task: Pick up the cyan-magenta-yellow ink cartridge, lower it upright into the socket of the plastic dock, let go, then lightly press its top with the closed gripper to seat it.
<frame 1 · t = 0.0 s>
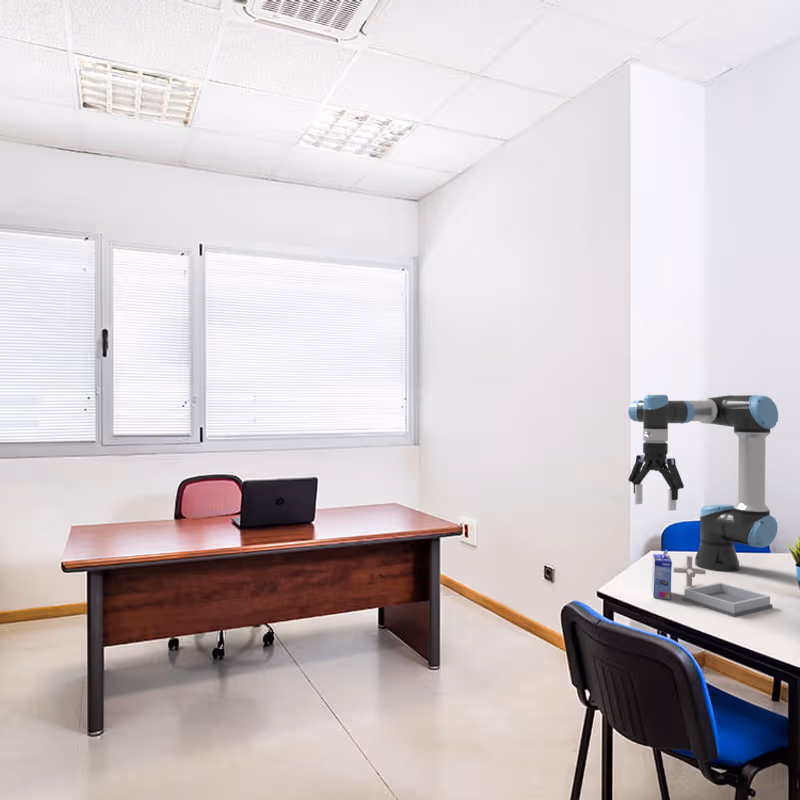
hand: (654, 507, 216), 28 cm above the table, fingers open, 13 cm apart
cartridge dock: (726, 604, 205), on the table
ink cartridge box: (661, 595, 214), on the table
pipe connector: (689, 586, 225), on the table
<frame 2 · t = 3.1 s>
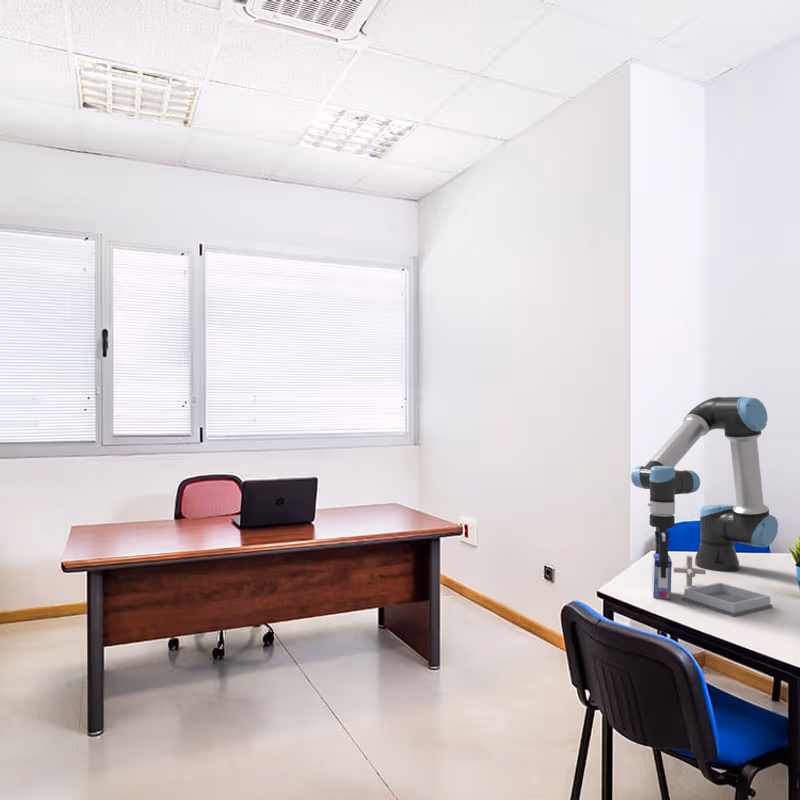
hand: (661, 583, 214), 4 cm above the table, fingers closed on ink cartridge box, 10 cm apart
ink cartridge box: (661, 595, 214), on the table, touching gripper
everything else where it was.
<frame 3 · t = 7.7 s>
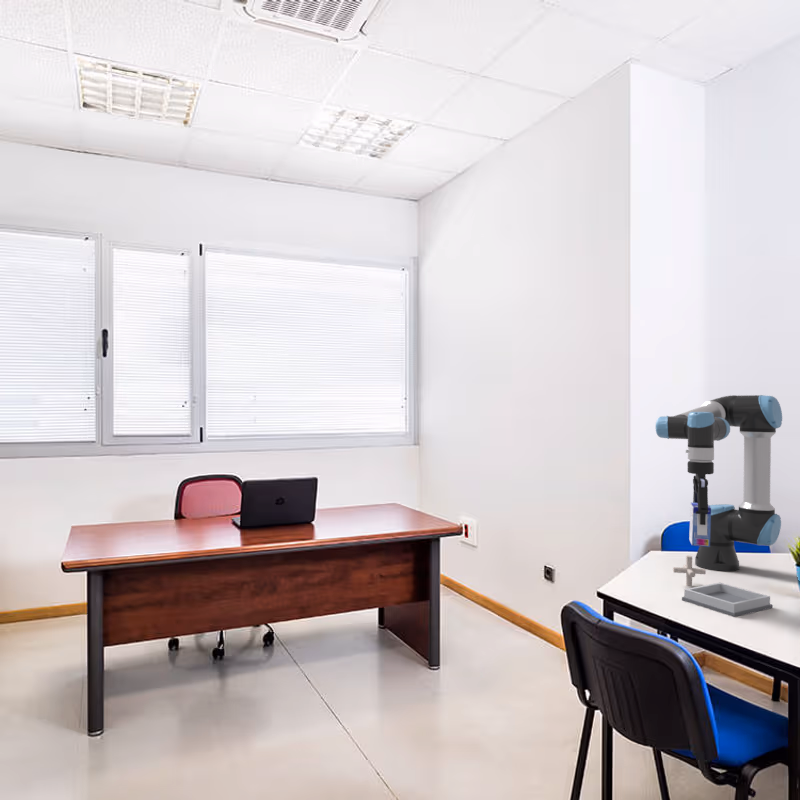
hand: (700, 531, 208), 22 cm above the table, fingers closed on ink cartridge box, 10 cm apart
ink cartridge box: (699, 544, 208), point 18 cm above the table, touching gripper
everything else where it was.
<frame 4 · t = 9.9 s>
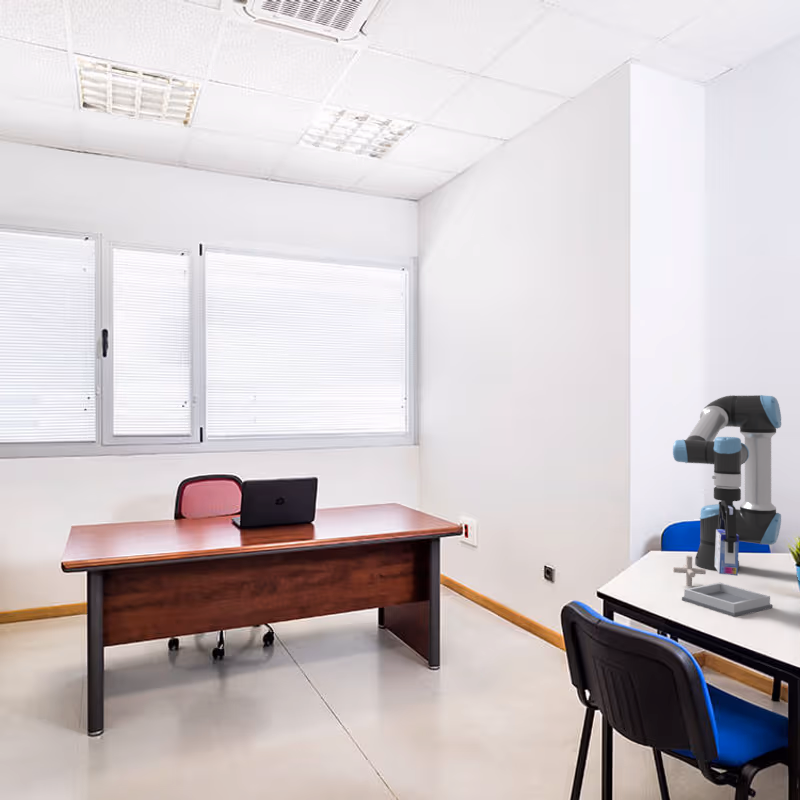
hand: (726, 559, 205), 14 cm above the table, fingers closed on ink cartridge box, 10 cm apart
ink cartridge box: (726, 572, 205), point 10 cm above the table, touching gripper
everything else where it was.
when the fingers open (7 cm above the table, at t = 12.1 s): ink cartridge box drops 2 cm, resting on cartridge dock.
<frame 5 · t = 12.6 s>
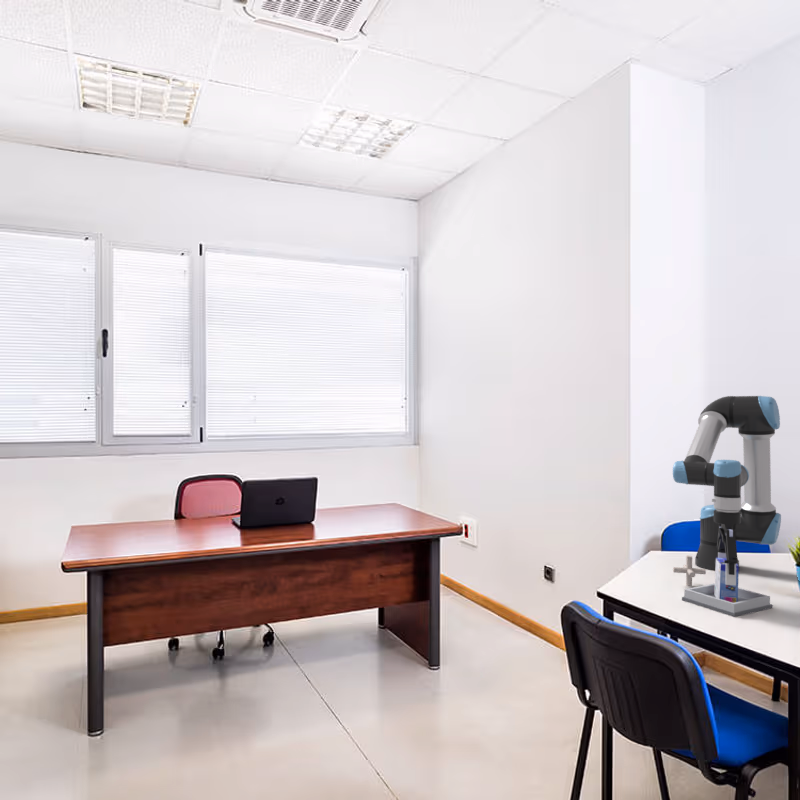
hand: (726, 579, 205), 8 cm above the table, fingers open, 13 cm apart
ink cartridge box: (726, 601, 205), point 1 cm above the table, touching cartridge dock
everything else where it was.
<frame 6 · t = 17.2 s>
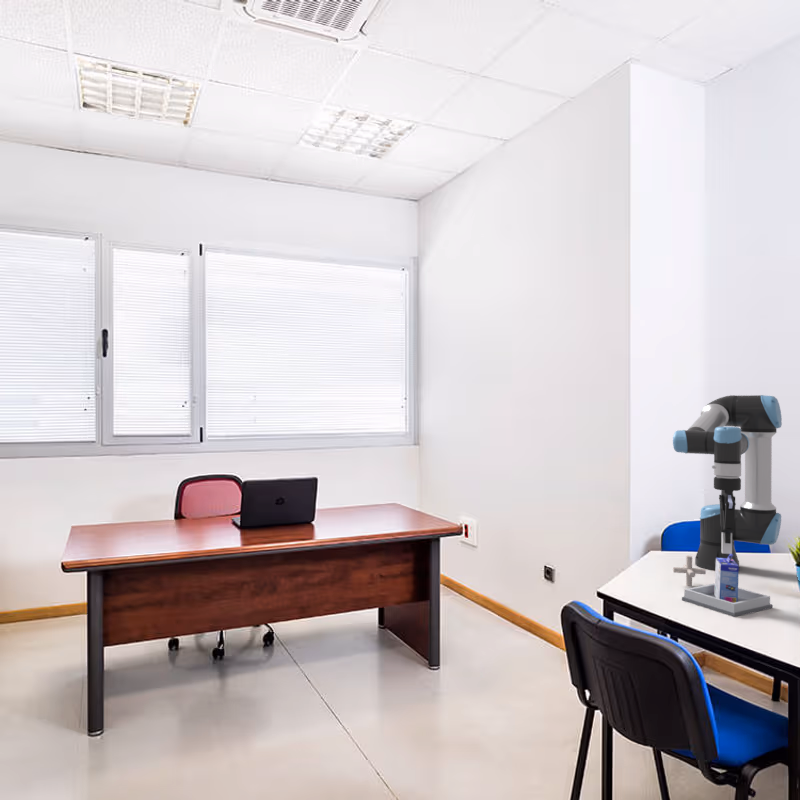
hand: (726, 553, 205), 16 cm above the table, fingers closed
ink cartridge box: (726, 601, 205), point 1 cm above the table, touching cartridge dock, gripper
everything else where it was.
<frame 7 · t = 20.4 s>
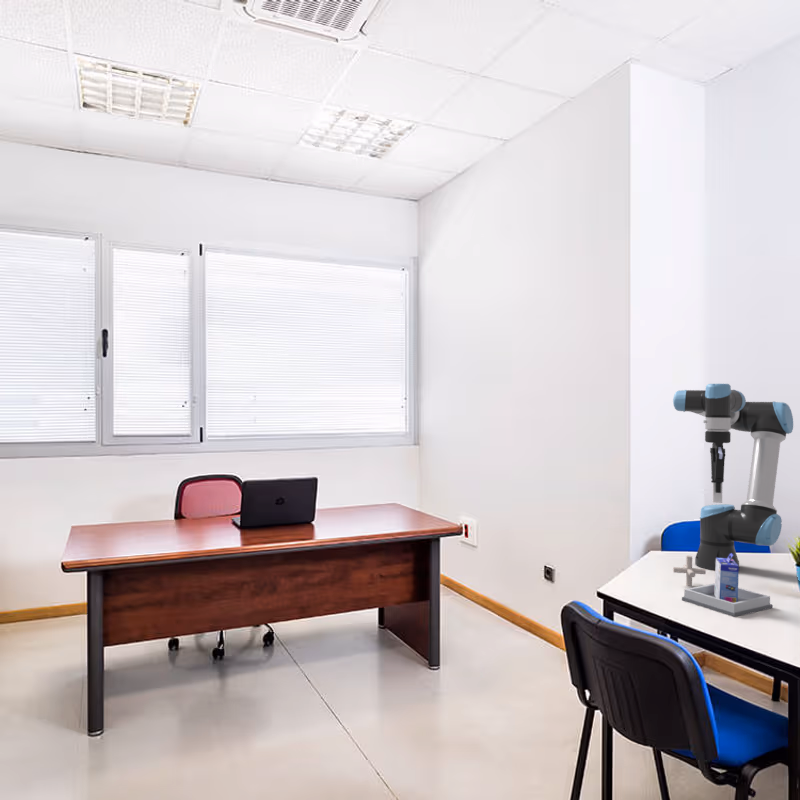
hand: (717, 502, 218), 29 cm above the table, fingers closed
ink cartridge box: (726, 601, 205), point 1 cm above the table, touching cartridge dock
everything else where it was.
at the end: ink cartridge box 0.3 cm off-centre on the cartridge dock, point 0.8 cm above the cartridge dock's base; ink cartridge box tilted 0°; the gripper is holding nothing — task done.
